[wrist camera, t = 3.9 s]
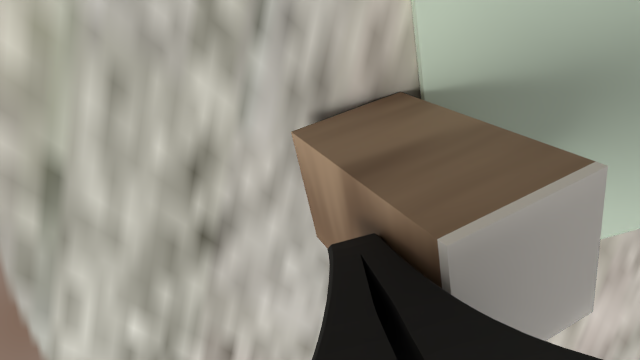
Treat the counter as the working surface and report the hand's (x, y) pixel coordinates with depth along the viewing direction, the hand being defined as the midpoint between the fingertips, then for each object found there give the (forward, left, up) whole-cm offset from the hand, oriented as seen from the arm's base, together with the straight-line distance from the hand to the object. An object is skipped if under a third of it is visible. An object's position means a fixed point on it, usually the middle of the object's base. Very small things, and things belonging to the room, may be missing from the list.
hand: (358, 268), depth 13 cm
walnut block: (0, -1, -6) cm, 6 cm away
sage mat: (0, -10, -6) cm, 12 cm away
